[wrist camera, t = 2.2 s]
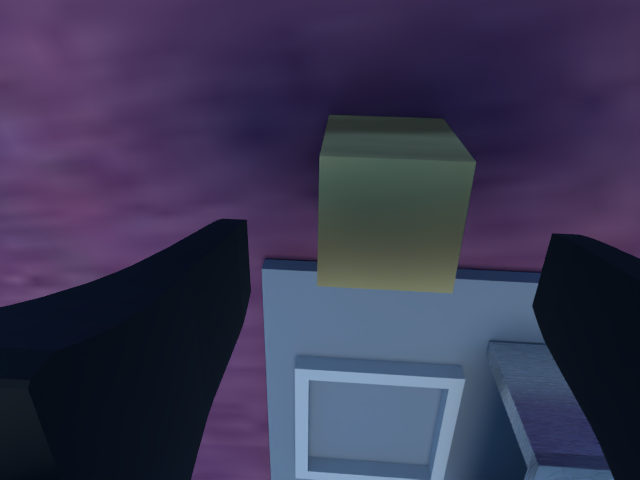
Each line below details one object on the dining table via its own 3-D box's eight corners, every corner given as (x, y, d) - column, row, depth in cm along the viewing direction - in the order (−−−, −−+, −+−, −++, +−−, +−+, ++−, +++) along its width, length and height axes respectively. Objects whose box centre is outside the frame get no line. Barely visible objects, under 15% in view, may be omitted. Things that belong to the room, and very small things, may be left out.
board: (265, 258, 19) (257, 279, 18) (689, 280, 18) (717, 304, 17) (274, 500, 26) (270, 528, 25) (578, 524, 26) (590, 554, 24)
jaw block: (329, 114, 16) (319, 156, 12) (443, 118, 16) (476, 161, 12) (326, 217, 18) (317, 286, 14) (428, 221, 18) (452, 293, 14)
